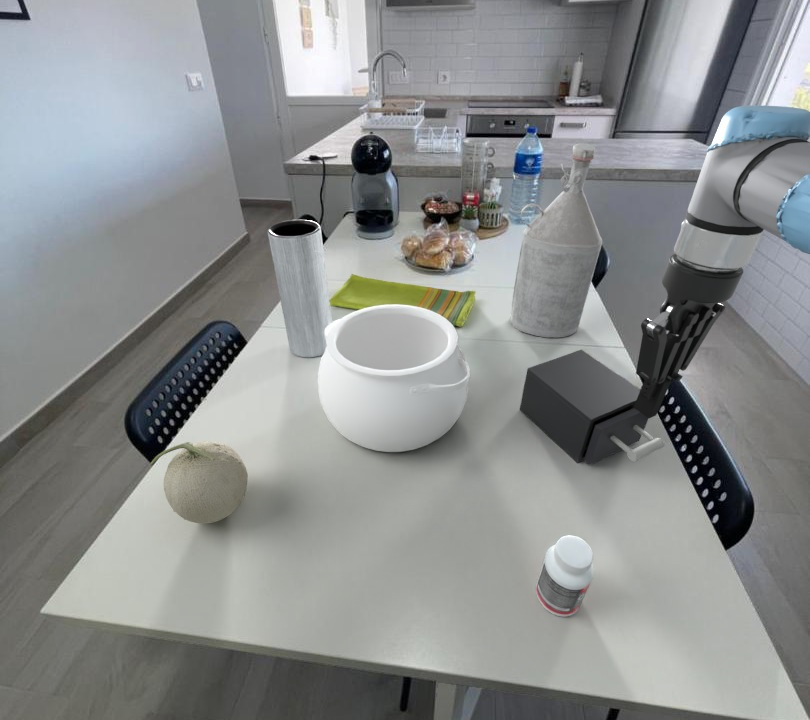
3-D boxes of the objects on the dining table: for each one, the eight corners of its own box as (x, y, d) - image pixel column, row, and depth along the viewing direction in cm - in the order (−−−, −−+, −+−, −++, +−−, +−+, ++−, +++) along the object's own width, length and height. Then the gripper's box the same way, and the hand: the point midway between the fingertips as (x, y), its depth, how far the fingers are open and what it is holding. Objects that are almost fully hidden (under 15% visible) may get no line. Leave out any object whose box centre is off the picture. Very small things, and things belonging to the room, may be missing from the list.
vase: (299, 363, 95) (277, 241, 80) (283, 342, 102) (260, 225, 86) (342, 349, 100) (329, 230, 84) (323, 329, 107) (308, 216, 91)
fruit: (186, 481, 70) (153, 410, 61) (260, 477, 70) (239, 405, 62) (161, 542, 61) (120, 469, 53) (246, 536, 62) (219, 463, 53)
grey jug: (505, 309, 114) (529, 137, 91) (576, 314, 111) (619, 139, 88) (505, 335, 104) (532, 150, 81) (583, 342, 101) (633, 152, 78)
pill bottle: (581, 623, 52) (601, 580, 47) (534, 611, 54) (548, 567, 48) (579, 580, 57) (598, 535, 51) (536, 569, 58) (549, 524, 52)
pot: (288, 417, 82) (272, 342, 72) (380, 351, 99) (377, 284, 89) (414, 494, 68) (414, 414, 58) (496, 402, 85) (507, 328, 75)
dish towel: (463, 329, 106) (464, 318, 104) (327, 307, 115) (326, 296, 114) (476, 300, 118) (477, 289, 116) (352, 282, 127) (351, 271, 125)
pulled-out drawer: (665, 461, 71) (682, 426, 67) (614, 488, 67) (628, 452, 63) (579, 395, 85) (589, 362, 80) (532, 414, 81) (540, 380, 76)
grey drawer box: (631, 437, 77) (649, 394, 71) (577, 463, 72) (591, 419, 67) (570, 389, 88) (581, 349, 82) (519, 409, 83) (527, 368, 77)
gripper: (712, 239, 57) (653, 384, 70) (641, 258, 52) (592, 409, 66) (774, 260, 51) (697, 412, 65) (701, 284, 46) (634, 443, 60)
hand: (644, 411), depth 65 cm, fingers closed
